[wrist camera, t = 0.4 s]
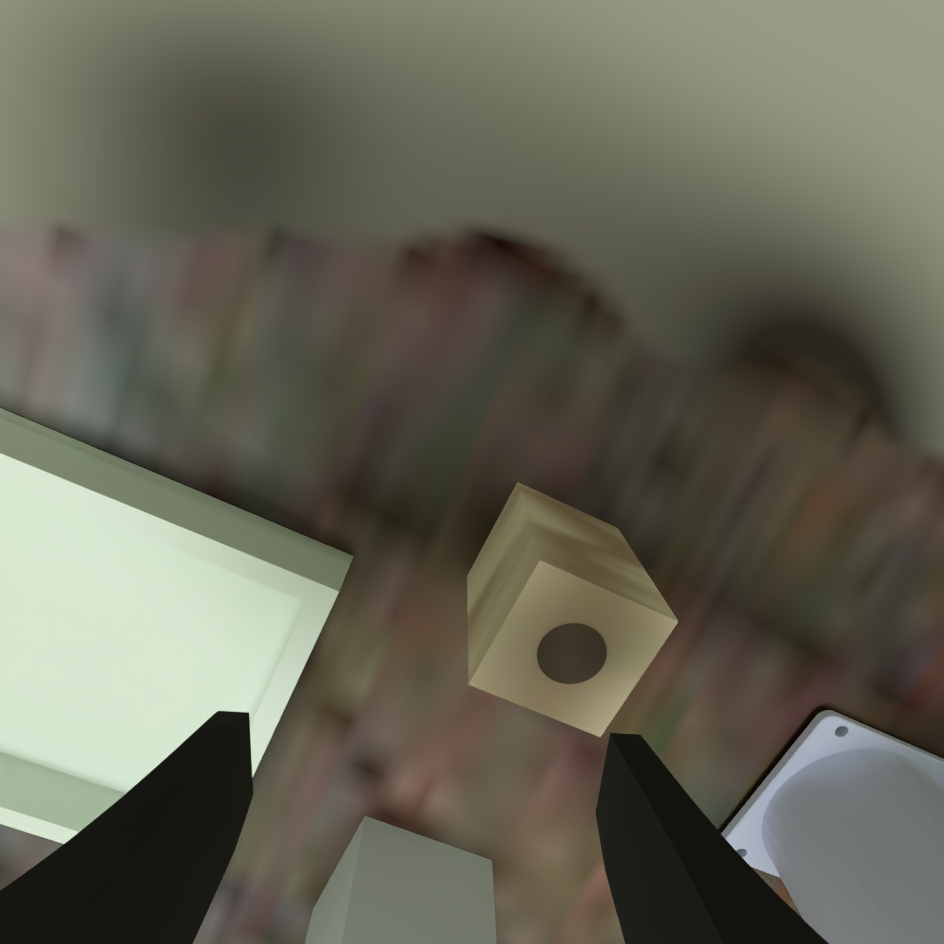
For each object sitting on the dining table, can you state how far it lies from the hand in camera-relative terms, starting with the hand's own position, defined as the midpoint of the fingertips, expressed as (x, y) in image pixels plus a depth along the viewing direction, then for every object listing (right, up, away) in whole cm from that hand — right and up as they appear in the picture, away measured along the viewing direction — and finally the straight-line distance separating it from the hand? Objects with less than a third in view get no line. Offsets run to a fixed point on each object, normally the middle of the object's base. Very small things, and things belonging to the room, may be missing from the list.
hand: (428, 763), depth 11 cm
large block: (-2, -12, +14) cm, 19 cm away
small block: (+3, +3, +9) cm, 10 cm away
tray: (-14, 0, +10) cm, 17 cm away
